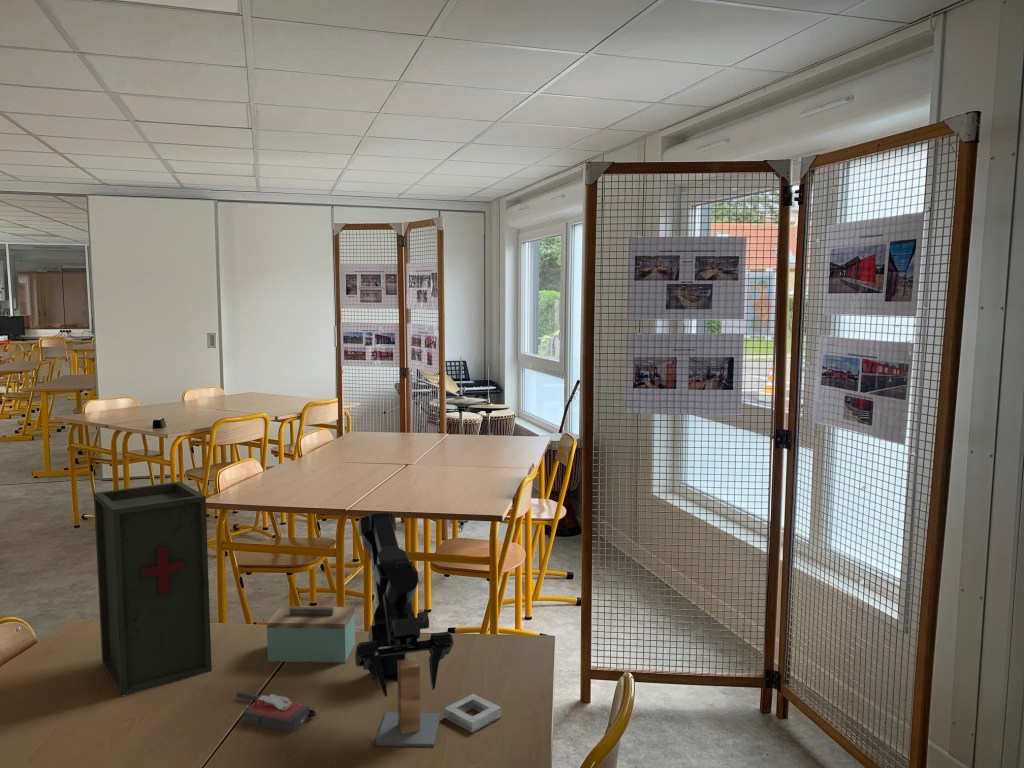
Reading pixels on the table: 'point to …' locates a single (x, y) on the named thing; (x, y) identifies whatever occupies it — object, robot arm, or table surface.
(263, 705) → the walkie-talkie
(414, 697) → the tall wooden block
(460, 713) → the white square ring
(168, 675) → the first aid box
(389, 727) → the grey square plate
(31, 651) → the table surface
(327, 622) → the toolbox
